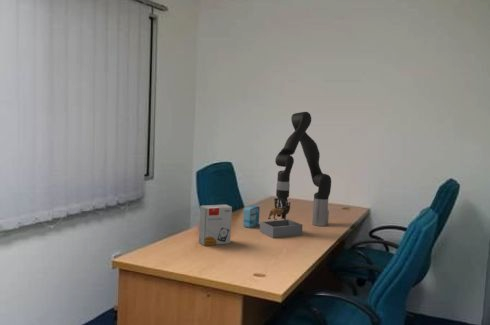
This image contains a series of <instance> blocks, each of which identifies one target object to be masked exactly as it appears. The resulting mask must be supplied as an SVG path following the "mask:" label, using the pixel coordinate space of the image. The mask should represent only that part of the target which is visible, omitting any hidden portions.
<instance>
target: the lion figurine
mask: <svg viewBox="0 0 490 325" xmlns="http://www.w3.org/2000/svg"><path fill="white" fill-rule="evenodd" d="M283 207H285V206H283ZM284 209H285V208H284ZM290 211H291V207H290V208H289V212H286V215H288V214H289V213H290ZM277 214H278V215H281V216H280V218H281V219H280V220H286V219H287V218H285V219H283V218H282V208H281V209H276V208H275V207H274V208H271V209H270V211H269V214H268V218H267V220H272V218H273V219H274V220H273V221H275V220H278V219H277V218H276V217H277ZM272 216H273V217H272ZM271 217H272V218H271Z"/></svg>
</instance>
